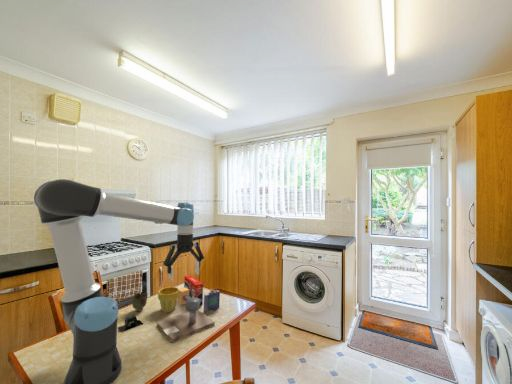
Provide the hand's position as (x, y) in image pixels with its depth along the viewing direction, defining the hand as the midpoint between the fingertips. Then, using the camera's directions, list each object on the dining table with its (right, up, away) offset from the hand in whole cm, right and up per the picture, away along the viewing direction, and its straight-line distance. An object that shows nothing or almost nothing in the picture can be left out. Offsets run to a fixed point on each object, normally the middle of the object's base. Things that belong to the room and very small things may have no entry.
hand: (184, 276), depth 114 cm
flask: (+12, -20, +8) cm, 25 cm away
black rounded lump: (-22, -20, -9) cm, 31 cm away
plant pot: (-11, -20, +7) cm, 24 cm away
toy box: (-1, -21, +19) cm, 28 cm away
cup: (-25, -20, +5) cm, 32 cm away
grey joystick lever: (+3, -12, -5) cm, 13 cm away
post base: (+3, -20, -8) cm, 21 cm away
